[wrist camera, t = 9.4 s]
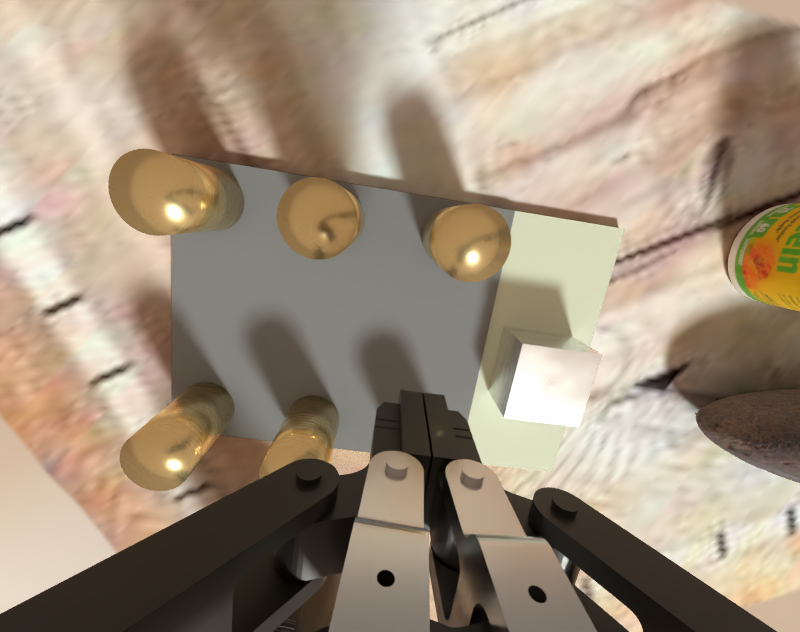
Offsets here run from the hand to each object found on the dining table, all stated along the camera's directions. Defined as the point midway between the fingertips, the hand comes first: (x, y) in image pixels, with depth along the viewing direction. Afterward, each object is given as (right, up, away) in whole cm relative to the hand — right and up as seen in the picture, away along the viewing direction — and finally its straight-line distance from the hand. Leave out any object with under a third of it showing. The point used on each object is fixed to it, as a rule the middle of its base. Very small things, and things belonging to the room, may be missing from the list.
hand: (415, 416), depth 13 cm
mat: (-1, +3, +8) cm, 9 cm away
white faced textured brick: (+7, +1, +9) cm, 11 cm away
